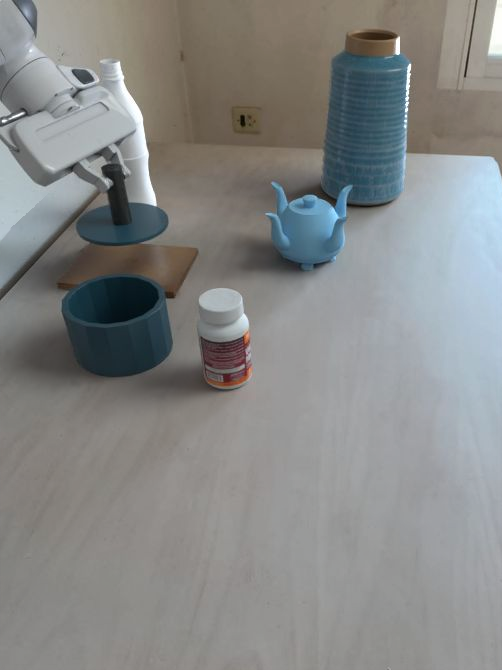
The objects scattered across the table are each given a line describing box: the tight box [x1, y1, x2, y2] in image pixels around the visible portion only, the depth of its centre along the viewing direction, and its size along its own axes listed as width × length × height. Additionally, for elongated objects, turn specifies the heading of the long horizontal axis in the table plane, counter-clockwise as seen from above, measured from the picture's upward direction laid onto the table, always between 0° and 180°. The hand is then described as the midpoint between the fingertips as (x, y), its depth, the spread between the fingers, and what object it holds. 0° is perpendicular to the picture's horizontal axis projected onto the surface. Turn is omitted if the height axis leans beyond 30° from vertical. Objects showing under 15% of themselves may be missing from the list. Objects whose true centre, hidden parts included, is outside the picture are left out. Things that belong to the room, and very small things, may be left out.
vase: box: [320, 28, 412, 207], centre depth 115 cm, size 16×16×27 cm
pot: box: [60, 274, 174, 378], centre depth 82 cm, size 13×13×8 cm
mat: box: [56, 242, 200, 299], centre depth 99 cm, size 18×14×1 cm
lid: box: [75, 163, 170, 246], centre depth 91 cm, size 13×13×9 cm
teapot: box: [264, 181, 353, 271], centre depth 100 cm, size 13×13×10 cm
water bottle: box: [99, 58, 157, 207], centre depth 104 cm, size 7×7×25 cm
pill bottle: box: [196, 287, 253, 390], centre depth 76 cm, size 6×6×11 cm
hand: (118, 184), depth 90 cm, fingers closed on lid, 3 cm apart
